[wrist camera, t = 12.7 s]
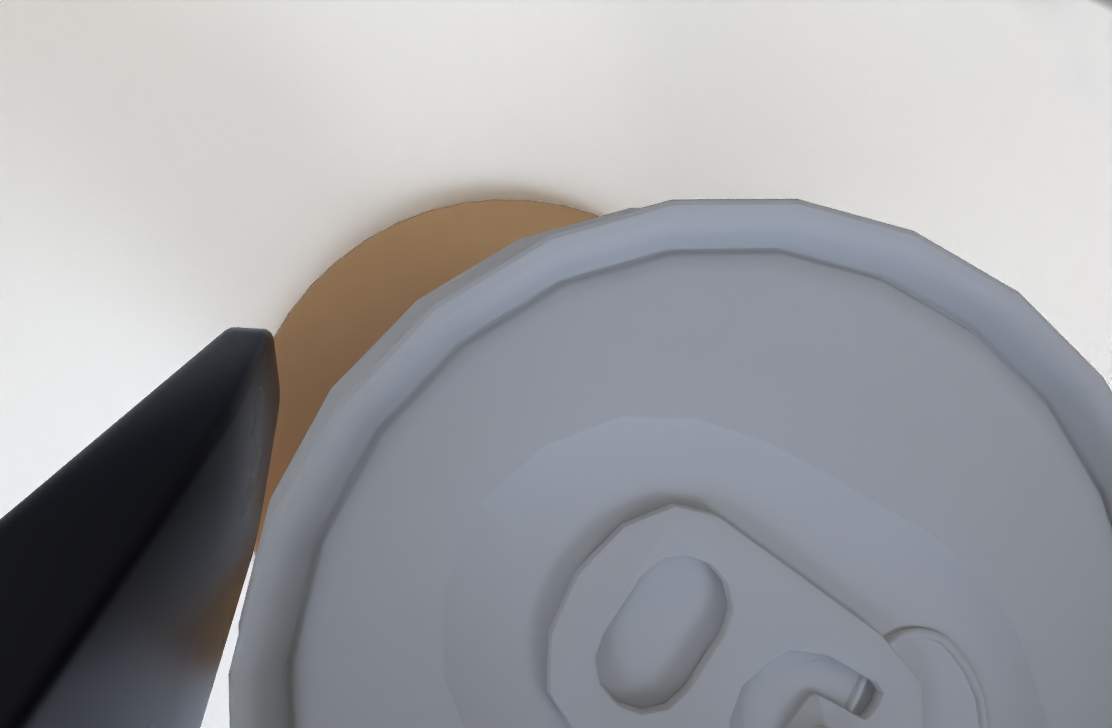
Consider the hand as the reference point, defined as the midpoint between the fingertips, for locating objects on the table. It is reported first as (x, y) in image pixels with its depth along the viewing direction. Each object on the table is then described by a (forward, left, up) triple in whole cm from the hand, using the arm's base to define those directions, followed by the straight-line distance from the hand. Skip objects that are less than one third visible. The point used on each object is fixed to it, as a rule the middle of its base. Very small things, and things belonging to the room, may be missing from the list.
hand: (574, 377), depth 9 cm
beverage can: (-2, 0, -7) cm, 7 cm away
